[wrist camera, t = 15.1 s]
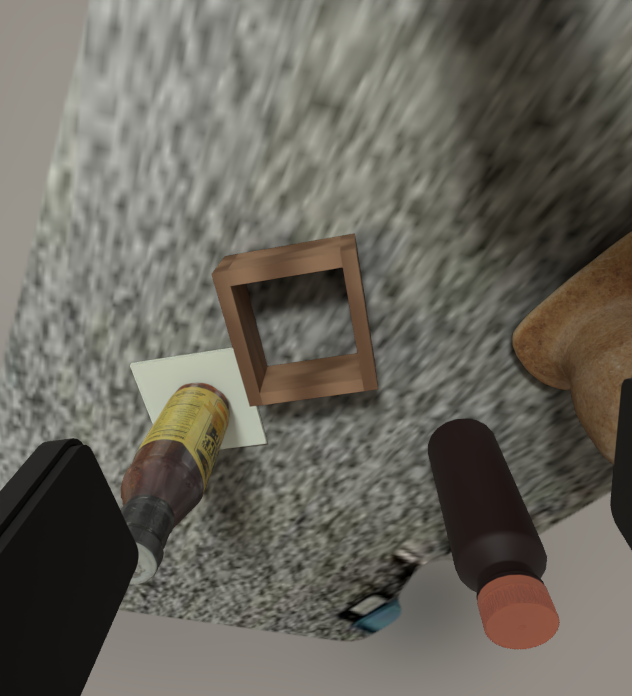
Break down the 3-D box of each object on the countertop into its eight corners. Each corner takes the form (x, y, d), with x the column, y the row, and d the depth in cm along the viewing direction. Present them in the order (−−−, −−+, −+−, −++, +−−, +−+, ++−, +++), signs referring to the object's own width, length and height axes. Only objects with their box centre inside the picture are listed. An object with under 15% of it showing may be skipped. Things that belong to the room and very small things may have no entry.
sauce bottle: (225, 438, 53) (163, 613, 35) (165, 420, 52) (72, 590, 34) (240, 386, 50) (182, 548, 32) (177, 367, 49) (83, 521, 31)
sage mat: (240, 346, 48) (239, 348, 48) (267, 440, 53) (266, 443, 53) (131, 362, 50) (129, 365, 49) (166, 453, 55) (165, 456, 54)
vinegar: (509, 441, 52) (596, 624, 34) (460, 481, 54) (517, 671, 36) (461, 404, 50) (526, 576, 32) (413, 447, 53) (448, 629, 35)
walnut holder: (354, 233, 43) (355, 249, 39) (374, 362, 49) (377, 389, 44) (224, 256, 45) (211, 274, 40) (258, 378, 50) (249, 406, 46)
